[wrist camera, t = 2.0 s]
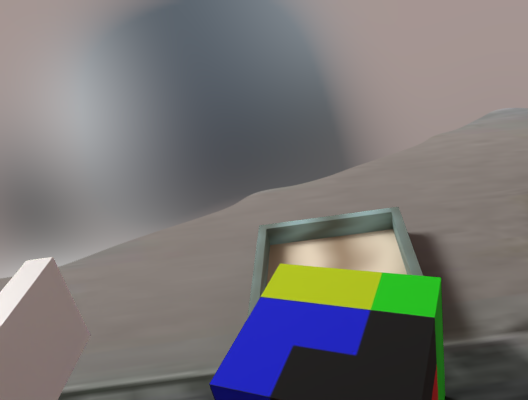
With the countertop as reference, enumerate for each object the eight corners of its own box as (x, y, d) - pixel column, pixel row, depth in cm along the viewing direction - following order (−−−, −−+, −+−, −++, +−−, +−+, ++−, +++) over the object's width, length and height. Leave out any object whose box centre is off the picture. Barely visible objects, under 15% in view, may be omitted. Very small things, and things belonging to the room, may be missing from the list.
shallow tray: (254, 348, 40) (247, 320, 39) (264, 249, 52) (259, 225, 51) (433, 330, 38) (432, 300, 37) (400, 232, 50) (398, 206, 49)
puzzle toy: (250, 500, 29) (209, 384, 25) (303, 370, 37) (279, 263, 32) (426, 556, 25) (416, 428, 20) (445, 396, 33) (441, 277, 28)
